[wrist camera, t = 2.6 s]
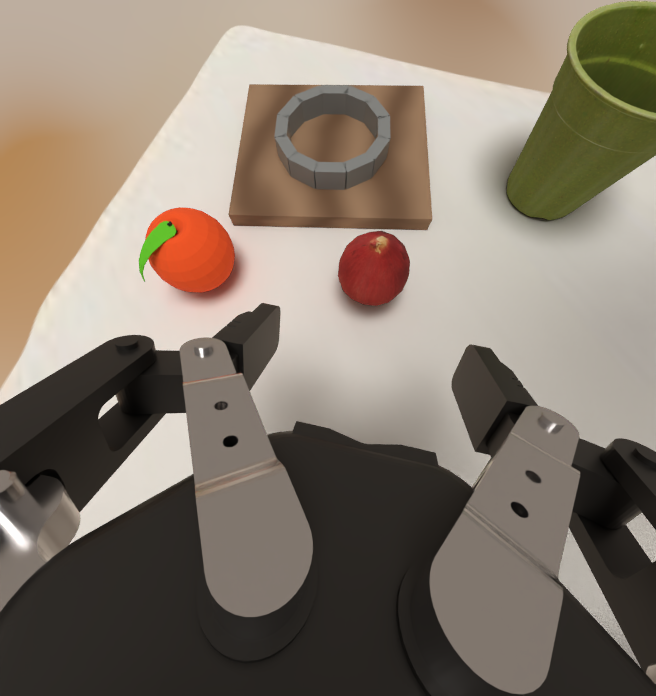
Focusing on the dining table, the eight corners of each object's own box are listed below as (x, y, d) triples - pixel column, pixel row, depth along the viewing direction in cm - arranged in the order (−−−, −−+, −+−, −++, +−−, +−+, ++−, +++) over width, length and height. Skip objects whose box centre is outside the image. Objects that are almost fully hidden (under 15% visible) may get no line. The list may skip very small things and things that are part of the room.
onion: (353, 255, 27) (361, 190, 20) (407, 277, 26) (437, 219, 19) (327, 303, 26) (325, 254, 18) (383, 328, 25) (405, 288, 17)
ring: (385, 106, 30) (389, 85, 28) (387, 190, 27) (391, 173, 25) (284, 105, 31) (280, 84, 29) (274, 188, 28) (270, 171, 26)
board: (419, 100, 32) (423, 85, 31) (427, 229, 28) (432, 219, 26) (253, 99, 33) (249, 84, 32) (233, 225, 28) (228, 214, 27)
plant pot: (613, 179, 29) (782, 34, 18) (571, 260, 27) (736, 151, 16) (510, 133, 31) (607, -23, 20) (462, 205, 29) (542, 73, 18)
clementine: (199, 327, 26) (150, 293, 19) (152, 283, 27) (90, 237, 20) (259, 269, 27) (234, 218, 20) (212, 230, 28) (173, 170, 21)
